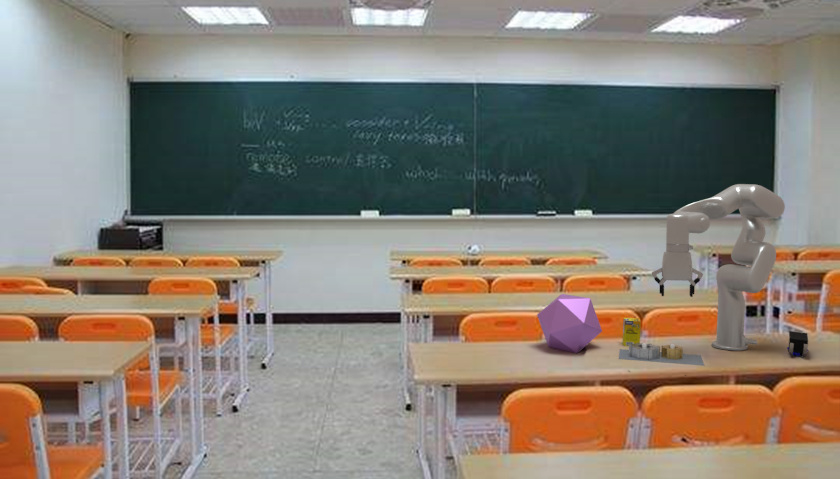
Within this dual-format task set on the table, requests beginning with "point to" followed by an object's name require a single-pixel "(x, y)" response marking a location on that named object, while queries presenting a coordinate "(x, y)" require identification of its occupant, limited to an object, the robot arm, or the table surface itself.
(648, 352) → the steel gear
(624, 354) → the gear board
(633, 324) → the supplement box
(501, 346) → the table surface
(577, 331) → the icosahedron
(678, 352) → the bronze gear
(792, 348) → the figurine character
